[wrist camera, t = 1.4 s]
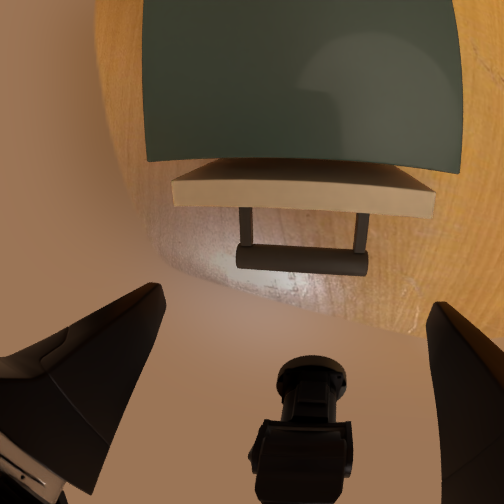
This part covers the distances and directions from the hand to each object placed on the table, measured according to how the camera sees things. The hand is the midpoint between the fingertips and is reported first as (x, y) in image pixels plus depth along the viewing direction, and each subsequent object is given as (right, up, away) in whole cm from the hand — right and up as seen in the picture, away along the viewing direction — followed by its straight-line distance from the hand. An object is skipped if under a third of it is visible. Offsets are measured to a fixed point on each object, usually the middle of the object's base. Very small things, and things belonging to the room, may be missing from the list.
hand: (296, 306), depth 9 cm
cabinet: (+2, +15, +6) cm, 17 cm away
